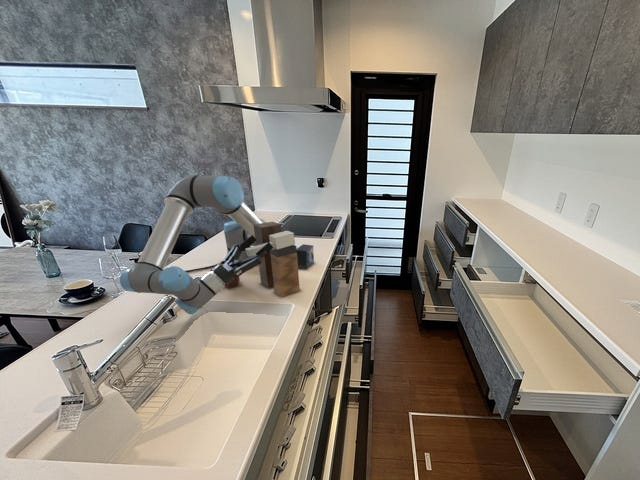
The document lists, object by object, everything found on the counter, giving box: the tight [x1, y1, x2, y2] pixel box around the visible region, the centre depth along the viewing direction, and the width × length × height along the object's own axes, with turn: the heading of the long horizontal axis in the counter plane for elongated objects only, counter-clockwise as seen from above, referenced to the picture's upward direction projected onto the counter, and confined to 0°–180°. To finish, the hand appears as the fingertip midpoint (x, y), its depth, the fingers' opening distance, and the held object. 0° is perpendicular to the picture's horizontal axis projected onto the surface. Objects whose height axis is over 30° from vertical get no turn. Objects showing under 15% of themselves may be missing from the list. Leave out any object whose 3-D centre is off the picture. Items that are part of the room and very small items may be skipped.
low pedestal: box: [270, 253, 301, 298], centre depth 131 cm, size 9×6×18 cm, turn 135°
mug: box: [209, 262, 241, 289], centre depth 136 cm, size 12×9×10 cm
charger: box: [245, 230, 296, 257], centre depth 121 cm, size 20×5×5 cm, turn 135°
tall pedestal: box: [254, 221, 282, 289], centre depth 136 cm, size 9×7×28 cm
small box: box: [296, 243, 315, 270], centre depth 161 cm, size 11×6×10 cm, turn 168°
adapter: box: [270, 244, 298, 257], centre depth 126 cm, size 9×6×3 cm, turn 135°
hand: (262, 241), depth 119 cm, fingers open, 13 cm apart
